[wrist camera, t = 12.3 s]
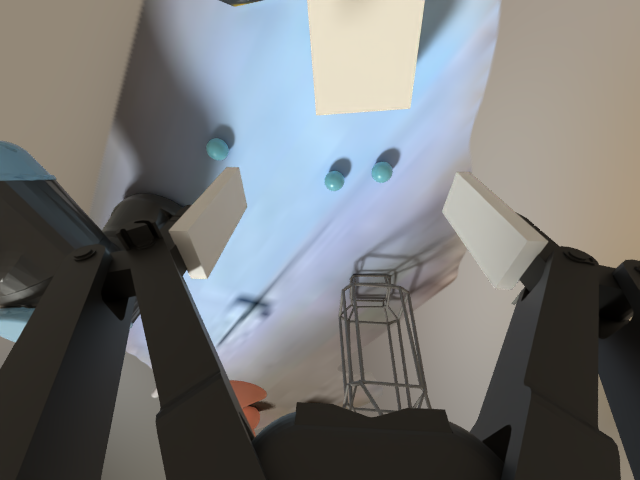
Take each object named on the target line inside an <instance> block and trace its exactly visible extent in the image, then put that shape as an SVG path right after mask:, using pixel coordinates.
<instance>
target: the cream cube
mask: <svg viewBox="0 0 640 480" xmlns="http://www.w3.org/2000/svg"><path fill="white" fill-rule="evenodd" d="M307 3H308V16H309V29H310V41H311V54H312V67H313V79H314V92H315V105H316V115H329V114H343V113H356V112H370V111H384V110H398V109H410V106H411V98H412V91H413V84H414V76H415V69H416V62H417V54H418V47H419V40H420V32H421V25H422V18H423V10H424V3H425V0H307Z"/></svg>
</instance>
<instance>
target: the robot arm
mask: <svg viewBox="0 0 640 480" xmlns="http://www.w3.org/2000/svg"><path fill="white" fill-rule="evenodd" d="M246 208H247V203H246V199H245V194H244V189H243V184H242V180H241V175H240V170H239V168H238V167H226V168H225V170H224V171H223V172H222V173H221V174H220V175H219V176H218V177H217V178H216V179H215V180H214V182H213V183H212V184H211V185H210V186H209V187H208V188H207V189H206V190H205V191H204V192H203V194H202V195H201V196H200V197H199V198H198V199H197V200H196V201H195V202H194V203H193V204H192V205H187V206H185V207H183V208H182V207H181V206H180V205H178V204H176V203H175V202H173V201H171V200H169V199H167V198H164V197H161V196H158V195H154V194H147V193H140V194H134V195H131V196H129V197H128V198H126V199H125V200H123V201H122V202H120V203H119V204H118V205H117V206H116V207H115V208H114V210H113V212H112V214H111V217H110V219H109V220H108V222H107V223H106V225H105V227H104V228H103V230H102V231H101V230H100V228H99V227H98V226H97V225H96V224H95V223H94V222H93V221H92V220H91V219H90V218H89V216H88V215H87V214H86V213H85V212H84V211H83V210H82V209H81V208H80V207H79V206H78V205H77V204H76V202H75V201H74V200H73V199H72V198H71V197H70V196H69V195H68V194H67V192H66V191H65V190H64V189H63V188H62V187H61V186H60V185H59V183H58V182H57V181H56V178H55V176H53V175H50V174H49V173H48V172H47V171H46V170H45V169H44V168H43V167H42V166H41V165H40V164H39V163H38V162H37V161H36V160H35V159H34V158H33V157H32V156H31V155H30V154H29V153H28V152H27V151H26V150H24V149H23V148H21V147H19V146H18V145H15V144H13V143H9V142H6V141H0V336H1V337H4V338H6V339H8V340H11V341H14V342H16V343H15V345H14V346H13V348H12V350H11V351H10V353H9V355H8V357H7V358H6V360H5V362H4V364H3V365H2V367H1V369H0V480H101V475H102V469H103V463H104V459H105V454H106V449H107V443H108V438H109V433H110V428H111V422H112V417H113V412H114V407H115V402H116V396H117V391H118V386H119V381H120V376H121V370H122V366H123V360H124V355H125V350H126V345H127V340H128V334H129V329H130V328H131V327H132V326H133V323H134V322H135V320H136V319H137V318H138V316H139V315H140V314H141V319H142V323H143V328H144V332H145V337H146V341H147V346H148V350H149V355H150V360H151V364H152V369H153V373H154V377H155V381H156V387H157V391H158V396H159V400H160V406H161V408H160V411H159V413H158V414H157V415H156V427H157V434H158V439H159V444H160V449H161V455H162V460H163V464H164V470H165V475H166V480H621V477H620V456H619V451H618V447H617V445H616V443H615V442H614V440H613V439H612V438H611V437H609V436H607V435H606V434H604V433H603V432H601V431H599V429H598V374H599V377H600V379H601V382H602V385H603V388H604V391H605V394H606V397H607V400H608V403H609V406H610V409H611V412H612V414H613V417H614V420H615V423H616V426H617V429H618V432H619V435H620V438H621V440H622V444H623V446H624V450H625V452H626V455H627V458H628V461H629V464H630V467H631V470H632V473H633V476H634V479H635V480H640V261H637V260H625V261H624V262H623V263H621V264H620V265H619V266H618V267H617V268H611V267H606V266H601V265H599V264H598V262H597V261H596V260H595V259H594V258H593V257H592V256H590V255H588V254H587V253H585V252H582V251H580V250H578V249H574V248H571V247H563V246H561V247H560V246H558V245H557V244H556V243H555V242H554V241H552V240H551V239H550V238H549V237H548V236H547V235H546V234H544V233H543V232H542V231H540V229H539V228H537V227H536V226H534V224H533V223H532V222H530V221H529V220H528V219H527V218H525V217H523V216H522V215H520V214H518V213H516V212H514V211H513V210H512V209H511V208H510V207H509V206H508V205H506V204H505V203H504V202H503V201H502V200H501V199H500V198H498V197H497V196H496V195H495V194H494V193H493V192H492V191H490V190H489V189H488V188H487V187H486V186H485V185H484V184H483V183H482V182H480V181H479V180H478V179H477V178H476V177H475V176H474V175H472V174H471V173H470V172H457V173H456V175H455V178H454V181H453V183H452V186H451V189H450V192H449V194H448V197H447V200H446V202H445V205H444V208H443V210H442V212H443V214H444V215H445V217H446V218H447V220H448V221H449V223H450V224H451V226H452V227H453V229H454V230H455V231H456V233H457V234H458V236H459V237H460V239H461V240H462V242H463V243H464V245H465V246H466V248H467V249H468V251H469V252H470V253H471V255H472V256H473V258H474V259H475V261H476V262H477V264H478V265H479V267H480V268H481V269H482V271H483V272H484V274H485V275H486V277H487V278H488V280H489V281H490V283H491V284H492V286H493V287H494V289H507V290H512V289H513V288H514V287H515V285H516V284H517V283H518V281H519V280H520V281H521V282H522V283H523V284H524V286H525V287H524V289H523V290H522V291H521V292H520V294H519V295H518V296H517V297H516V299H515V300H514V301H513V302H512V304H513V305H515V304H516V303H517V304H516V307H515V310H514V313H513V316H512V319H511V322H510V325H509V328H508V331H507V334H506V337H505V340H504V343H503V346H502V349H501V352H500V355H499V358H498V361H497V364H496V367H495V370H494V372H493V376H492V378H491V382H490V385H489V388H488V390H487V393H486V396H485V399H484V402H483V405H482V408H481V411H480V414H479V417H478V420H477V421H476V423H475V425H474V426H473V428H472V429H471V431H470V432H468V431H467V430H465V429H463V428H462V427H460V426H458V425H456V424H453V423H451V422H449V421H448V418H447V415H446V412H445V410H441V409H440V410H439V409H421V408H406V409H402V410H399V411H395V412H391V413H388V414H384V415H381V416H377V417H367V416H364V415H362V414H359V413H356V412H353V411H350V410H348V409H345V408H342V407H339V406H337V405H334V404H321V403H301V402H297V406H296V412H293V413H290V414H287V415H285V416H282V417H280V418H279V419H277V420H275V421H274V422H272V423H271V424H269V425H268V426H267V427H265V428H264V429H263V430H262V431H261V432H260V433H259V434H258V435H257V436H256V437H255V436H254V433H253V431H252V429H251V427H250V425H249V423H248V420H247V418H246V416H245V414H244V412H243V410H242V408H241V406H240V403H239V401H238V399H237V397H236V395H235V392H234V390H233V388H232V386H231V383H230V381H229V379H228V377H227V374H226V372H225V370H224V368H223V365H222V363H221V361H220V359H219V356H218V354H217V352H216V350H215V347H214V345H213V343H212V341H211V338H210V336H209V334H208V332H207V329H206V327H205V325H204V323H203V320H202V318H201V316H200V314H199V311H198V309H197V307H196V305H195V302H194V300H193V298H192V296H191V294H190V291H189V289H188V287H187V285H186V282H185V280H184V278H183V275H184V273H185V272H186V270H187V271H188V273H189V275H190V277H191V279H208V277H209V275H210V273H211V271H212V270H213V268H214V266H215V264H216V262H217V261H218V259H219V257H220V255H221V253H222V252H223V250H224V248H225V246H226V244H227V242H228V241H229V239H230V237H231V235H232V233H233V232H234V230H235V228H236V226H237V224H238V223H239V221H240V219H241V217H242V215H243V213H244V212H245V210H246ZM632 316H633V317H632ZM631 317H632V319H631V321H629V319H630V318H631Z"/></svg>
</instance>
